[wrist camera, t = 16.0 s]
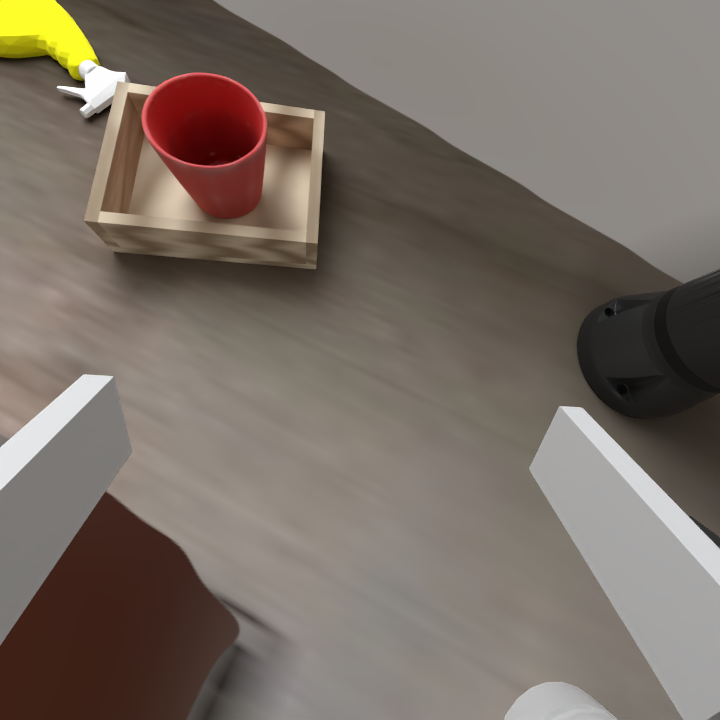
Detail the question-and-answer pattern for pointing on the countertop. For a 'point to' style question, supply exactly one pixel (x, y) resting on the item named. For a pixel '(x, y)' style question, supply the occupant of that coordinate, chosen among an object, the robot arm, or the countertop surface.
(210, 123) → the flower pot
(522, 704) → the honey pot
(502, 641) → the countertop surface
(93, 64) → the spray bottle
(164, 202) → the pine crate
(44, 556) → the robot arm
